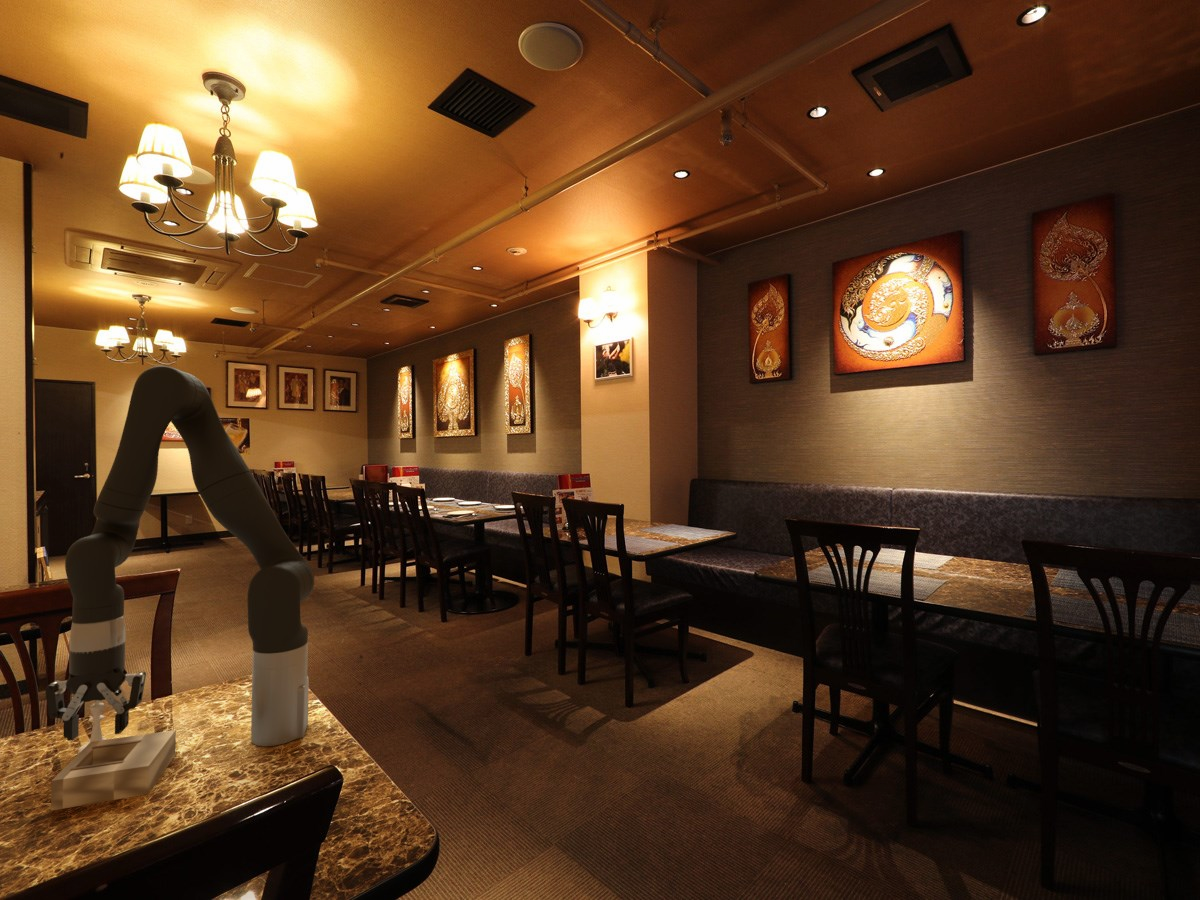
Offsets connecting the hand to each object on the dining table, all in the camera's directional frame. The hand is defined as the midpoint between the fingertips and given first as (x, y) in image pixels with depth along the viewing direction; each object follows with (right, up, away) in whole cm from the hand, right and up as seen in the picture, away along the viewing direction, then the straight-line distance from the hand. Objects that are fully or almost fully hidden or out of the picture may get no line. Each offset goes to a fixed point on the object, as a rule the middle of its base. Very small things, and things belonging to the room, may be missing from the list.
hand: (96, 734), depth 100 cm
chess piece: (0, -3, 0) cm, 3 cm away
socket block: (+12, -3, -9) cm, 15 cm away
